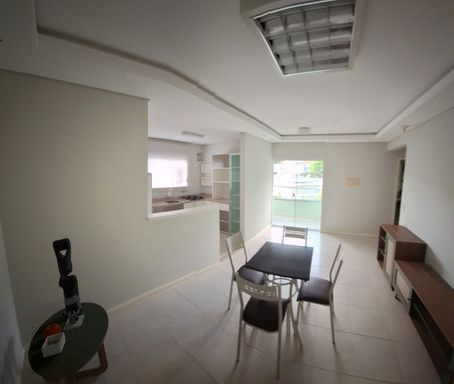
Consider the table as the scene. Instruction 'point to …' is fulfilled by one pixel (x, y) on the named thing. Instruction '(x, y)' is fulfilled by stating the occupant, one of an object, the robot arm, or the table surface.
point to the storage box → (53, 344)
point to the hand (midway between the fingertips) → (74, 321)
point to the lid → (73, 322)
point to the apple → (52, 330)
